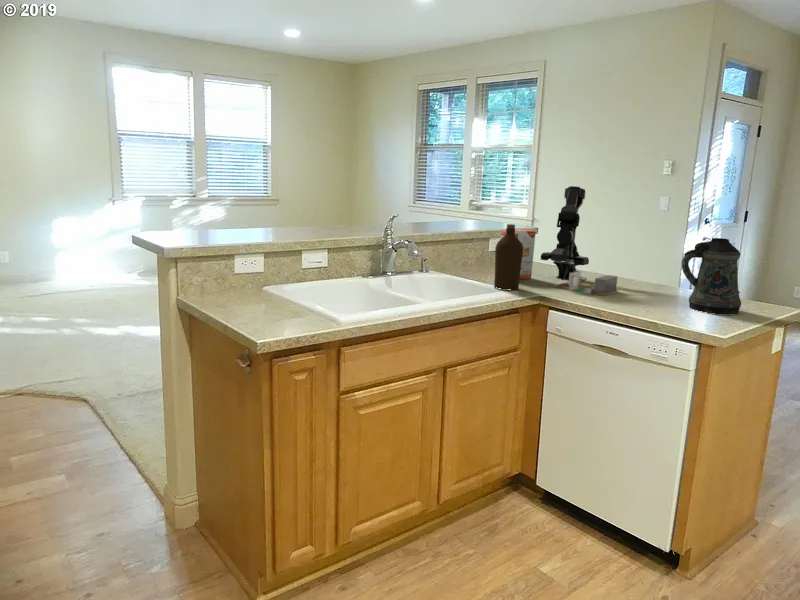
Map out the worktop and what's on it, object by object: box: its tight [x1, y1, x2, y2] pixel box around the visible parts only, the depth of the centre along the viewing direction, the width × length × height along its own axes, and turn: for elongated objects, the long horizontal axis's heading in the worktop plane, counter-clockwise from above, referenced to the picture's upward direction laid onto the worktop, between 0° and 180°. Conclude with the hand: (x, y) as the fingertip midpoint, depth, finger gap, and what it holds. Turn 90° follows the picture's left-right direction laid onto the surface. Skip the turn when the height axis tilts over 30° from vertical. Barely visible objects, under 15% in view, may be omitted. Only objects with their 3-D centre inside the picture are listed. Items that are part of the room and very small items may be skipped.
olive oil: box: [493, 223, 523, 291], centre depth 236 cm, size 11×11×25 cm
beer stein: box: [681, 237, 742, 315], centre depth 211 cm, size 16×19×25 cm
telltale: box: [573, 276, 579, 286], centre depth 239 cm, size 2×2×4 cm
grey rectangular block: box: [594, 274, 618, 293], centre depth 237 cm, size 4×12×5 cm, turn 139°
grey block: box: [568, 270, 587, 285], centre depth 243 cm, size 5×10×5 cm, turn 139°
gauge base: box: [554, 281, 618, 296], centre depth 242 cm, size 20×15×2 cm
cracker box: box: [499, 228, 537, 280], centre depth 260 cm, size 14×6×21 cm, turn 107°
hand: (562, 279), depth 248 cm, fingers closed
